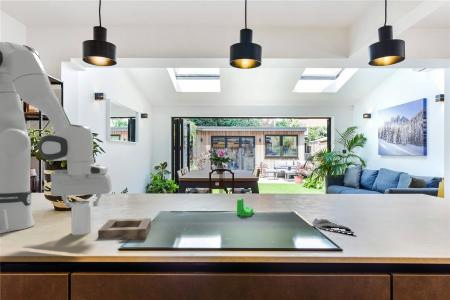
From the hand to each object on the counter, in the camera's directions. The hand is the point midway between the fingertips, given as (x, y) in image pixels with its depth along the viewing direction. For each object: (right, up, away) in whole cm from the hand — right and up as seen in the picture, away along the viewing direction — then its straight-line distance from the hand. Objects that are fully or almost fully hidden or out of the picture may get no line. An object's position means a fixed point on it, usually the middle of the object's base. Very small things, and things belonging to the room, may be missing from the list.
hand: (82, 206), depth 108 cm
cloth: (+96, -12, +15) cm, 97 cm away
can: (-1, -11, 0) cm, 11 cm away
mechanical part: (+62, -11, +39) cm, 75 cm away
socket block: (+15, -10, +3) cm, 19 cm away
